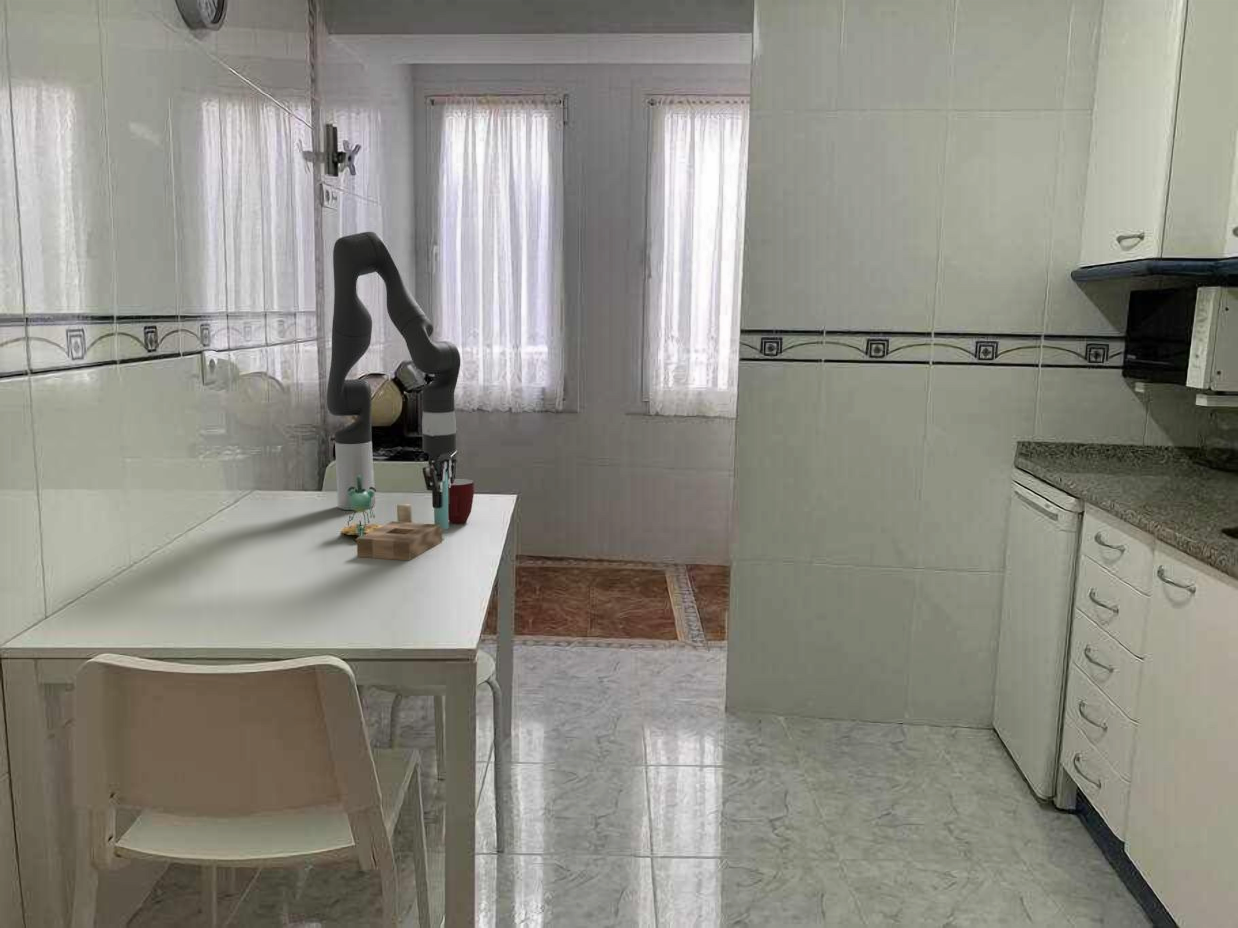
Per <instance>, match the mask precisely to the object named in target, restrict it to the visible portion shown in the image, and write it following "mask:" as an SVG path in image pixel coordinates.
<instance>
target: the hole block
mask: <svg viewBox="0 0 1238 928" xmlns="http://www.w3.org/2000/svg"><path fill="white" fill-rule="evenodd" d="M442 530H443V529H441V525H437V524H434V523H421V522H412V523H408V522H398V521H391V522H388V523H386V524H384V525H382V527H380V528H378V529H375V530H373V531H371V532H369V533H367V534H363V536H360V537H359V536H358V537H357V538H356V539H357V540H356V549H357V557H358V558H359V557H360V558H372V559H373V558H374V559H382V560H384V559H385V560H394V561H395V560H398V561H409V562H410V561H412V560H413V559H415V558H417V557H418V556H420V555H422V554H423V553H425V552H426V551H429V550H431V549H432V548H434V547H436V546H437V545H439V544H441V543H442V542H443V538H442V537H443V533H442Z"/></svg>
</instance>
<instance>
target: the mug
mask: <svg viewBox="0 0 1238 928" xmlns="http://www.w3.org/2000/svg"><path fill="white" fill-rule="evenodd" d="M474 494H475V482H474V480H472V479H467V478H454V483H453V484H451V487H450V488H449V501H450V502H449V504H448V517H449V523H450V524H452V525H453V524H454V525H455V524H456V525H459V524H464V523H467V521H468V519H469V517H470V515H471V512H472V508H473V501H474Z"/></svg>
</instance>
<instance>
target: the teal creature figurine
mask: <svg viewBox="0 0 1238 928" xmlns="http://www.w3.org/2000/svg"><path fill="white" fill-rule="evenodd" d="M357 486H358V490H357V489H355V491H354V490H351V489H354V487H350V488H349V489H348V492H349V491H350V490H351V491H350V492H349V496H350V497H351V498H350V503H349V505H351V507H352V508H353V509H354V510H353V515H352V516H351V515H348V520H347V526H343V528H341V530H340V532H341V533H342V534H343V535H344V534H345V535H349V536H351V535H352V536H356V537H357V538H358V537H360V536H363V535H365V534H367V533H369V532H371V531H373V530H375V529H378V528H380V527H382V526H383V525H382V524H377V523H376V524H375V523H371V520H370V519H369V518H372V517H373V519H375V518H376V515H374V511H373V507H371V508H370V506H371V502H372V501H371V498H372V497H373V495H374V492H373V491H369V492H368V493H367V492H366V491H365V488H363V489H362V484H361V477H360V476H357ZM370 489H373V490H374V491H375V493H376V492H377V489H376V487H375V488H373V487H370ZM349 505H348V506H349ZM347 508H348V509H350V506H349V507H347ZM367 510H369V513H368V512H367ZM356 512H358V513H363V517H364V520H366V516H367V523H366V521H364V524H362V521H361V520H359V523H355V524H354V525H350V521H353V520H354V517H355V515H356ZM369 514H370V516H369ZM365 515H366V516H365ZM370 523H371V524H370ZM357 538H355V539H354V541H357Z"/></svg>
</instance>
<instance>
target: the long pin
mask: <svg viewBox="0 0 1238 928" xmlns="http://www.w3.org/2000/svg"><path fill="white" fill-rule="evenodd" d="M437 478H440V477H439V476H437ZM438 485H439V482H438ZM442 495H443V507H442V508H433V518H434V523H433V524H437V525H441V529H442V530H447V529H449V527H450V525H449V523H450V522H449V517H448V472H445V481H444V482H443V486H442Z"/></svg>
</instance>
